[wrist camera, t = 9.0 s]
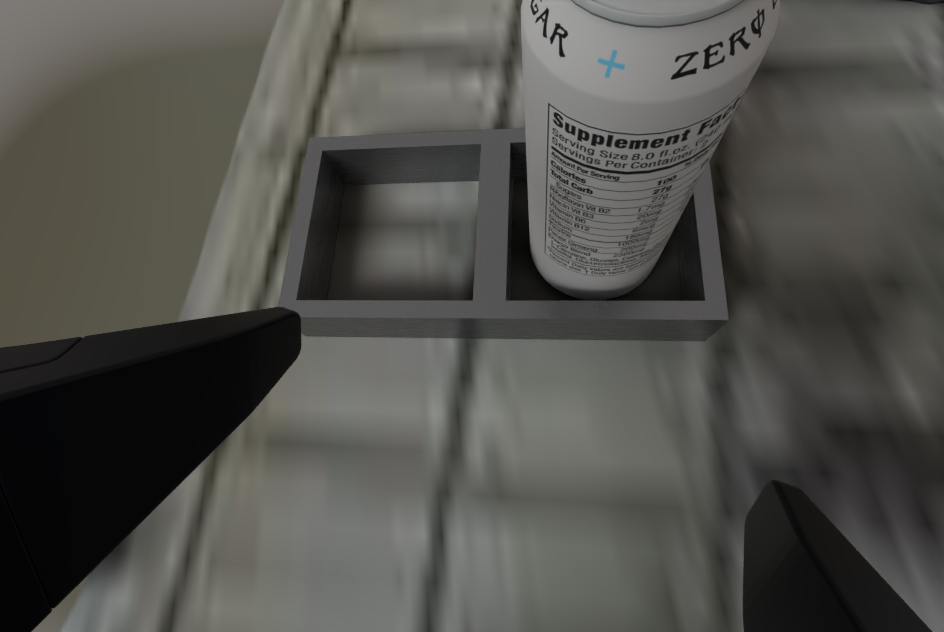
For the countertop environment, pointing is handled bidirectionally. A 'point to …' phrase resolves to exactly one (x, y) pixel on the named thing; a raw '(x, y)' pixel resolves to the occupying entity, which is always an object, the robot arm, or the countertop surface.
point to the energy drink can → (626, 125)
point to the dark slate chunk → (928, 1)
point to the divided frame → (480, 250)
